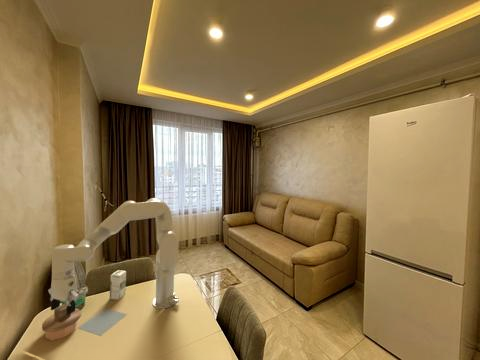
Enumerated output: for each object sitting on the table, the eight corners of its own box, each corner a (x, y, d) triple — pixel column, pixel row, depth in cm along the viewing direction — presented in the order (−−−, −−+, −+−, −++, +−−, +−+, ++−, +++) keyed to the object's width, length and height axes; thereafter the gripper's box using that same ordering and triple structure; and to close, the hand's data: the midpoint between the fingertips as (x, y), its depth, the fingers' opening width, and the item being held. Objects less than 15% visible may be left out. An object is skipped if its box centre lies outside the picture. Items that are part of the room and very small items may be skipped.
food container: (69, 319, 95) (70, 299, 95) (59, 317, 96) (60, 297, 96) (93, 303, 107) (93, 285, 107) (84, 301, 108) (84, 284, 108)
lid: (88, 314, 92) (88, 301, 92) (55, 335, 80) (55, 321, 80) (68, 308, 96) (68, 296, 96) (34, 327, 83) (34, 313, 83)
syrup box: (116, 293, 117) (116, 269, 116) (125, 294, 116) (126, 270, 116) (109, 299, 111) (110, 274, 111) (119, 300, 111) (120, 275, 110)
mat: (127, 315, 99) (127, 314, 99) (100, 337, 86) (100, 335, 86) (105, 309, 103) (105, 308, 103) (77, 329, 90) (77, 327, 90)
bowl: (82, 325, 92) (82, 315, 91) (57, 343, 82) (57, 331, 82) (66, 320, 94) (66, 310, 94) (40, 337, 85) (40, 325, 84)
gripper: (86, 272, 89) (85, 309, 89) (59, 266, 94) (59, 301, 94) (68, 280, 82) (67, 321, 82) (39, 274, 86) (39, 312, 87)
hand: (63, 310), depth 88 cm, fingers open, 9 cm apart
